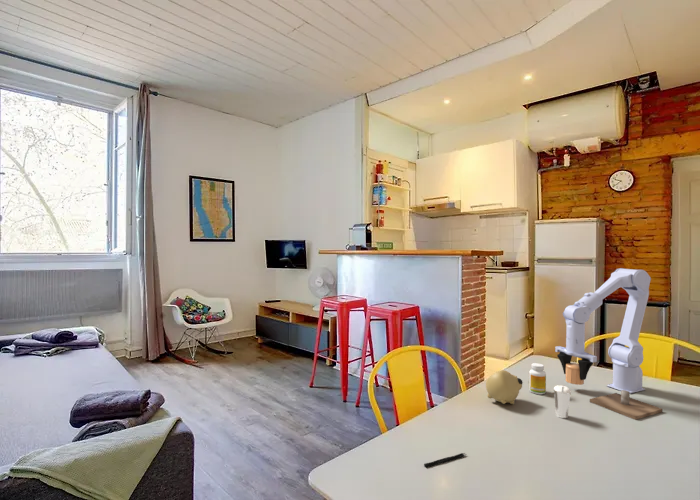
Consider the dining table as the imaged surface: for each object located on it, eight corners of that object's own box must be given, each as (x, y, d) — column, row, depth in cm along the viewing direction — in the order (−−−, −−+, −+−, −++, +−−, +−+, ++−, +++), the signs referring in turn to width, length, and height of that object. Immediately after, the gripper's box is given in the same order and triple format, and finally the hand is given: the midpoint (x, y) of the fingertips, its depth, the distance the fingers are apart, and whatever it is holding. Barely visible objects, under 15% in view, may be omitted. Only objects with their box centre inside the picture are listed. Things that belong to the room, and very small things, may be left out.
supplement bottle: (548, 395, 132) (549, 367, 132) (533, 394, 132) (533, 367, 132) (541, 389, 137) (541, 362, 137) (526, 388, 137) (526, 362, 137)
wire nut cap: (572, 378, 140) (572, 362, 140) (587, 383, 135) (587, 366, 135) (562, 380, 138) (562, 364, 138) (576, 385, 133) (577, 368, 133)
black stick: (464, 455, 94) (464, 451, 94) (467, 457, 93) (467, 453, 93) (423, 467, 88) (423, 462, 88) (426, 469, 87) (426, 465, 87)
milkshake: (553, 418, 114) (554, 385, 114) (553, 411, 119) (553, 379, 118) (570, 421, 112) (571, 388, 112) (569, 414, 116) (570, 382, 116)
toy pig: (528, 403, 125) (528, 371, 125) (506, 411, 118) (506, 377, 118) (501, 393, 133) (502, 363, 133) (479, 400, 126) (480, 368, 126)
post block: (615, 395, 132) (616, 381, 132) (662, 412, 119) (662, 396, 119) (589, 401, 126) (590, 387, 126) (635, 419, 114) (635, 403, 114)
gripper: (549, 335, 142) (549, 371, 142) (587, 345, 128) (587, 384, 128) (562, 333, 144) (562, 369, 145) (601, 343, 131) (600, 382, 131)
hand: (574, 376), depth 137 cm, fingers closed on wire nut cap, 6 cm apart
